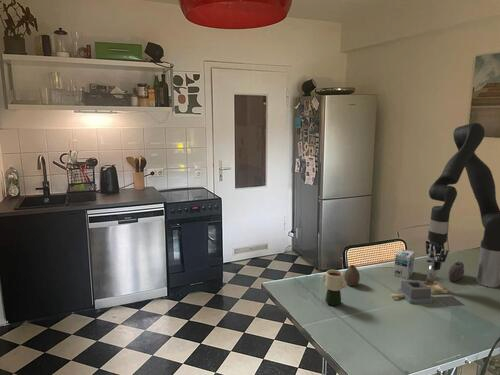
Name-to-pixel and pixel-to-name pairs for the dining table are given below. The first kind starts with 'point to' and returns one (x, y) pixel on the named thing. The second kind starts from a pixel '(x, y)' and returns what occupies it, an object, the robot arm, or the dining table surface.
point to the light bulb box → (404, 263)
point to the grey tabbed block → (431, 270)
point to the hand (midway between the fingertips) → (433, 267)
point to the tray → (436, 287)
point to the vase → (352, 276)
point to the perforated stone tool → (456, 271)
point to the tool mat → (450, 301)
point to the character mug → (334, 286)
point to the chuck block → (414, 292)
